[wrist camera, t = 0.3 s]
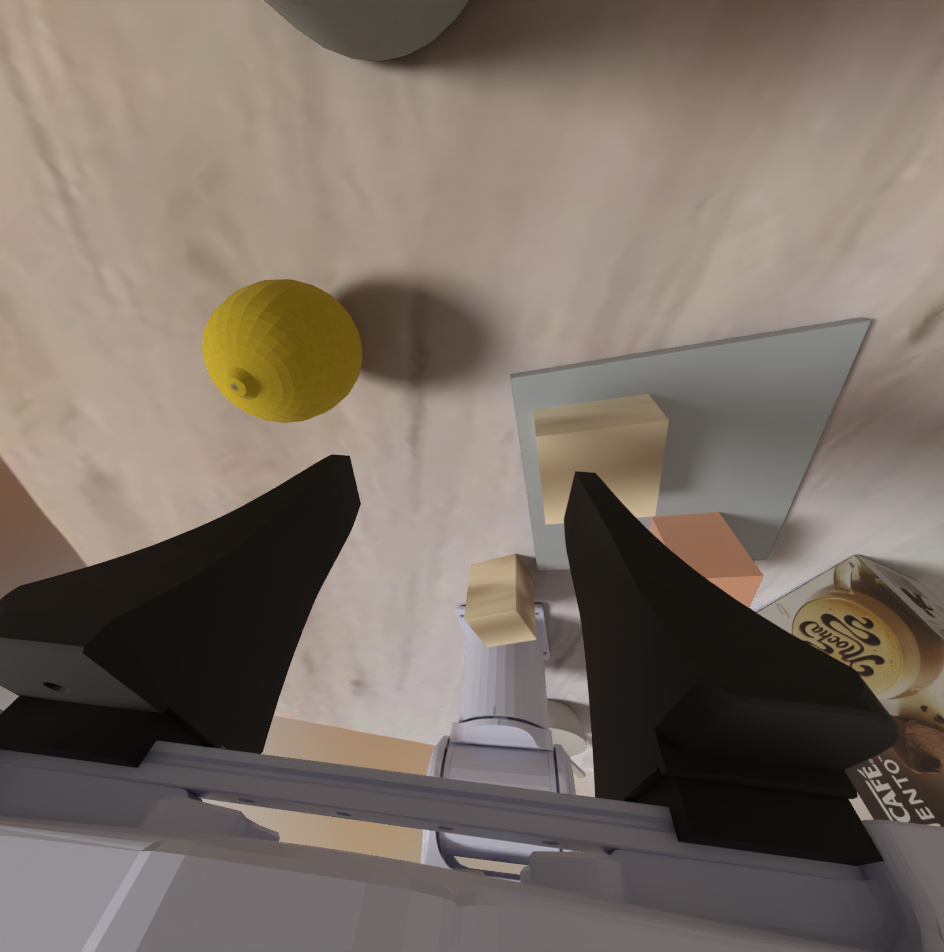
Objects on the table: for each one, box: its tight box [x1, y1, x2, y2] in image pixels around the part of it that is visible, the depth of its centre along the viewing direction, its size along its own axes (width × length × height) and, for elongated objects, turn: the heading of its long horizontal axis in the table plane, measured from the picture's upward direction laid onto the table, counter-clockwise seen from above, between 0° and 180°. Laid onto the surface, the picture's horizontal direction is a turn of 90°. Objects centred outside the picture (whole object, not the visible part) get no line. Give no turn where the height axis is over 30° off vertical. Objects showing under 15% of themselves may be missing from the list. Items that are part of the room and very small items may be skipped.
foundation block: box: [533, 394, 669, 525], centre depth 19 cm, size 6×6×3 cm
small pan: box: [547, 699, 587, 778], centre depth 46 cm, size 11×18×4 cm, turn 33°
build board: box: [511, 318, 871, 571], centre depth 22 cm, size 16×16×1 cm
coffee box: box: [757, 555, 944, 827], centre depth 21 cm, size 9×6×16 cm
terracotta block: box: [650, 512, 763, 608], centre depth 22 cm, size 4×4×5 cm
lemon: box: [202, 279, 363, 423], centre depth 15 cm, size 6×6×8 cm
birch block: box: [464, 554, 537, 647], centre depth 27 cm, size 4×4×5 cm
